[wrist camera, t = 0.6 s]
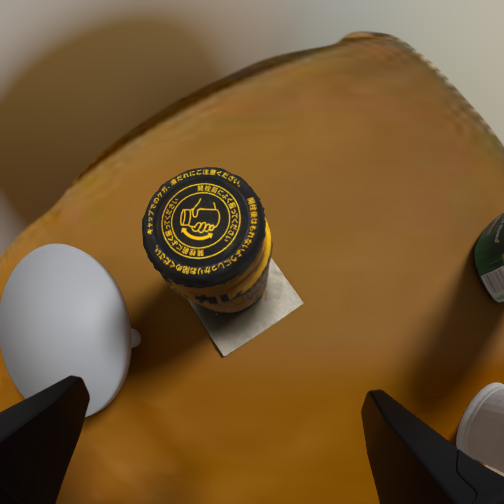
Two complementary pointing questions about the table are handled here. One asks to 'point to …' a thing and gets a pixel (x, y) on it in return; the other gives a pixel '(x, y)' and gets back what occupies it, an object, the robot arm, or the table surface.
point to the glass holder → (484, 427)
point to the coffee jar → (492, 258)
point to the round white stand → (65, 324)
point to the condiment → (218, 254)
